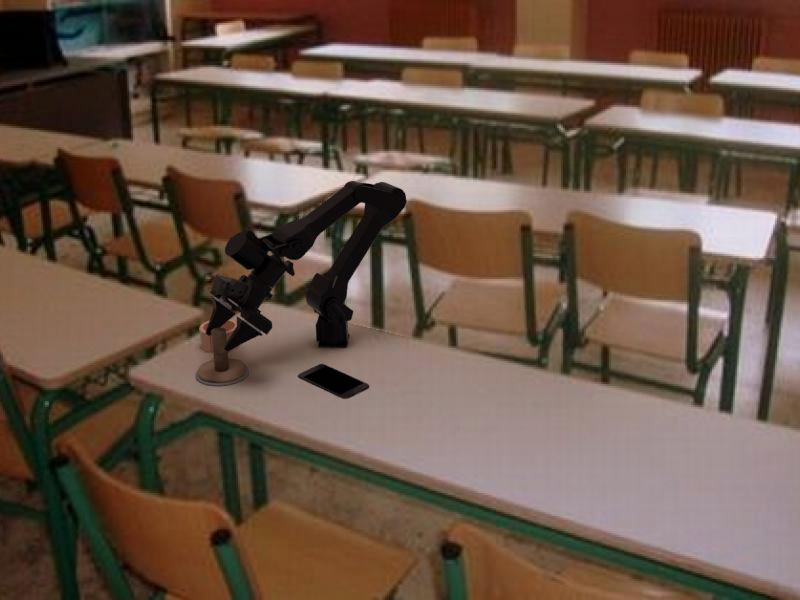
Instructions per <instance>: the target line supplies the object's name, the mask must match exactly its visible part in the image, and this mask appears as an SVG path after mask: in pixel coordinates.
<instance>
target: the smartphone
mask: <svg viewBox="0 0 800 600" xmlns="http://www.w3.org/2000/svg"><path fill="white" fill-rule="evenodd" d="M297 378H298V379H300V380H302V381H304V382H306V383H308V384H310V385H313V386H315V387H316V388H319V389H321V390H323V391H324V392H325V391H326V392H328V393H330V394H332V395H334V396H336V397H338V398H339V399H340V398H341V399H343V400H347V399H350V398H353V397H354V396H356V395H358V394H361V393H362V392H364V391H367V390H368V389H369V388H370V385H369V383H366V382H364V381H363V380H360V379H358V378H356V377H353V376H351V375H349V374H347V373H345V372H342V371H340V370H338V369H336V368H334V367H331V366H329V365H328V364H324V363H319V364H317V365H314V366H313V367H311V368H308V369H306V370H304V371H302V372H300V373H298V374H297Z"/></svg>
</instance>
